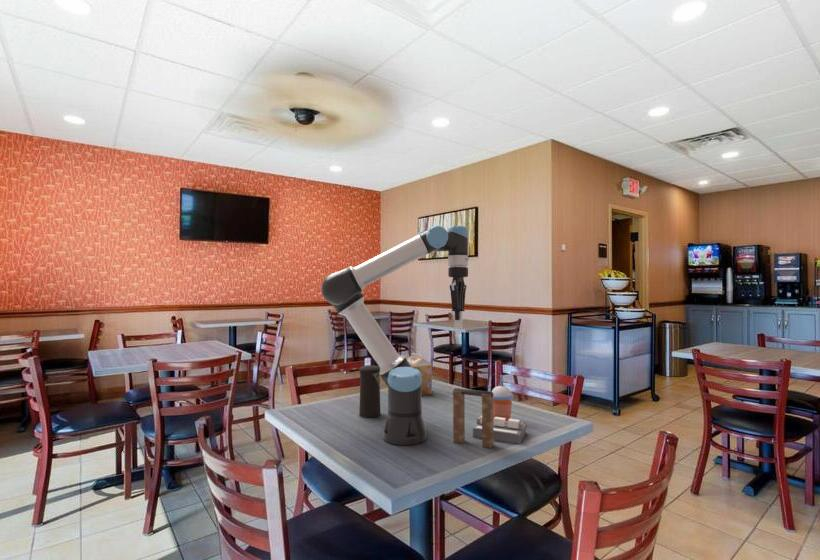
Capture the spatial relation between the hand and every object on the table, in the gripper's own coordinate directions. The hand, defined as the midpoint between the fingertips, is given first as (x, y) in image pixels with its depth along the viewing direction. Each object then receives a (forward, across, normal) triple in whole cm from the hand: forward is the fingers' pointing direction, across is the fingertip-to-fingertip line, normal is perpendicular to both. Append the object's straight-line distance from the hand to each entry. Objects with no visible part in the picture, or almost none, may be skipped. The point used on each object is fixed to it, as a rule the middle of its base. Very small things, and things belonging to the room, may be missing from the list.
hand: (458, 328), depth 165 cm
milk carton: (+37, +38, +35) cm, 63 cm away
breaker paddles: (+33, -5, -17) cm, 37 cm away
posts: (+36, -17, -11) cm, 42 cm away
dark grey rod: (+20, -17, -11) cm, 29 cm away
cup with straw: (+37, +10, -14) cm, 40 cm away
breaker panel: (+36, -5, -17) cm, 40 cm away
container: (+37, -4, +37) cm, 52 cm away
